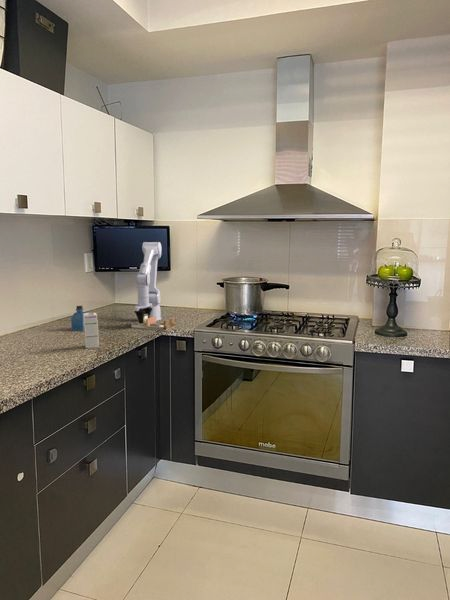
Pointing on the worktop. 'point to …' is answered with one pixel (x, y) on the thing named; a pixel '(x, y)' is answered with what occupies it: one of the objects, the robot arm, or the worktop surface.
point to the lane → (164, 326)
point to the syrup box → (90, 330)
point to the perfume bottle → (78, 319)
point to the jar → (144, 320)
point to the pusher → (152, 322)
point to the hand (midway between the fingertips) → (143, 322)
